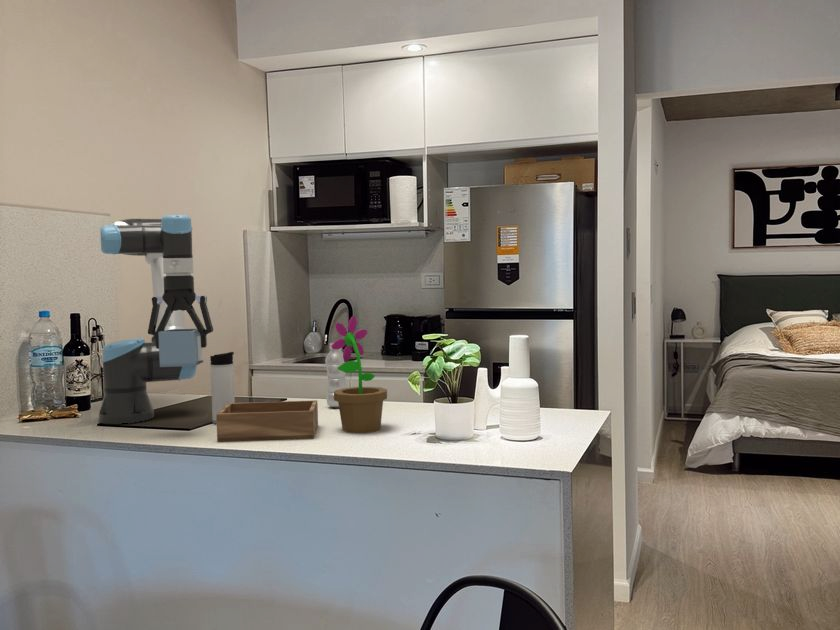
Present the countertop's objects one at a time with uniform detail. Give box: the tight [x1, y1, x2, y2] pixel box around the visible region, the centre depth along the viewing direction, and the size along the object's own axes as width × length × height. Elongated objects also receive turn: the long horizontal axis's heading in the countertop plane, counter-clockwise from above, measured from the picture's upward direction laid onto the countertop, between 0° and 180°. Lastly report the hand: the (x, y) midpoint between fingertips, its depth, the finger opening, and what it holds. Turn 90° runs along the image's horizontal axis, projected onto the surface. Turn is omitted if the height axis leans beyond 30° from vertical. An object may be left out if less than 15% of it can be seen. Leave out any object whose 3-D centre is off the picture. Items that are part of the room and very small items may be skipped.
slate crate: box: [158, 328, 204, 367], centre depth 202 cm, size 9×9×9 cm
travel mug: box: [209, 351, 236, 425], centre depth 218 cm, size 6×7×20 cm
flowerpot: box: [332, 315, 388, 434], centre depth 205 cm, size 14×14×30 cm
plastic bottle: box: [324, 342, 347, 409], centre depth 237 cm, size 6×7×20 cm
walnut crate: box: [216, 399, 319, 443], centre depth 202 cm, size 16×24×7 cm, turn 93°
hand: (182, 360), depth 203 cm, fingers closed on slate crate, 9 cm apart
